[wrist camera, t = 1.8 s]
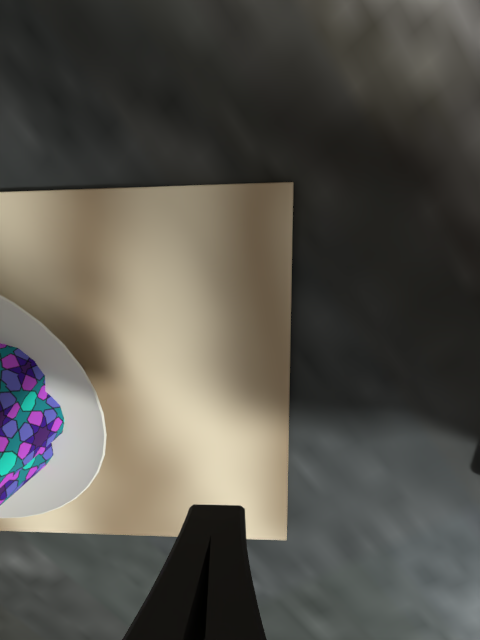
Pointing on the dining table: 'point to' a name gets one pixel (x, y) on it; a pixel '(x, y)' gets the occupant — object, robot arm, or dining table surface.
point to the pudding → (44, 419)
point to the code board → (166, 344)
